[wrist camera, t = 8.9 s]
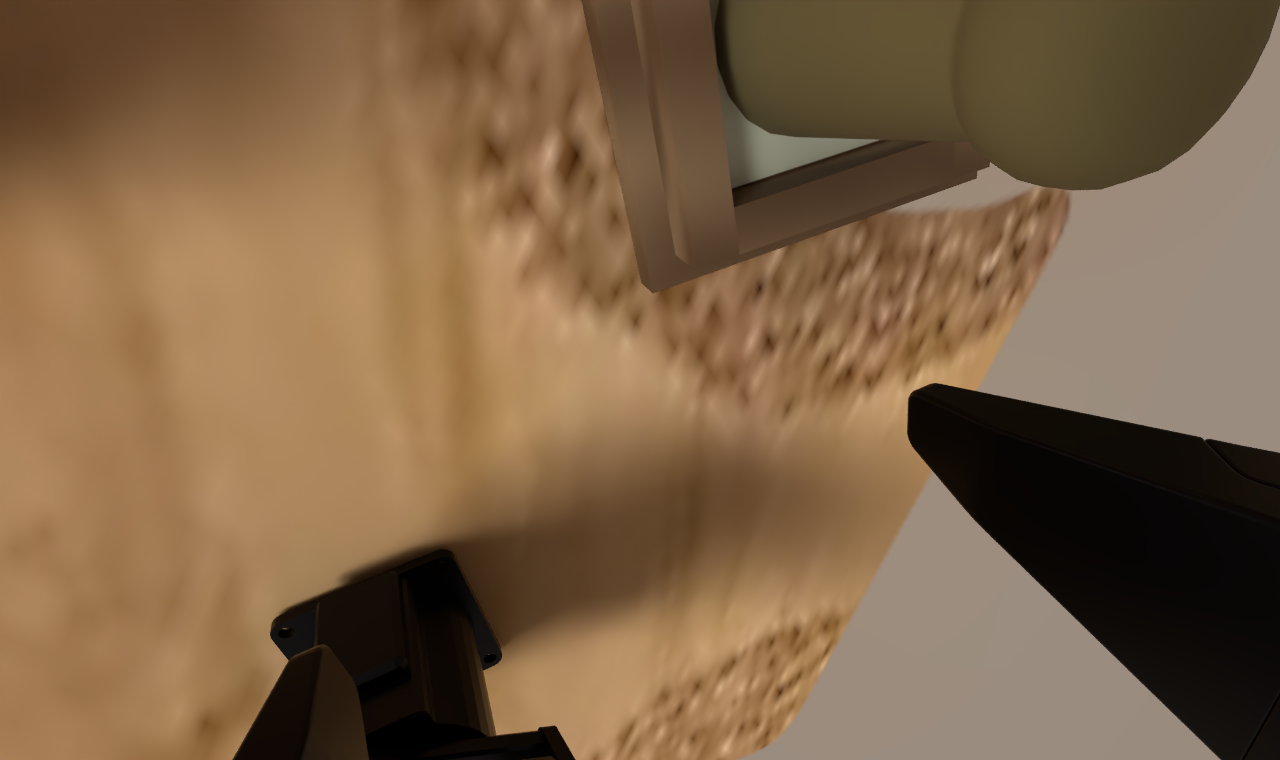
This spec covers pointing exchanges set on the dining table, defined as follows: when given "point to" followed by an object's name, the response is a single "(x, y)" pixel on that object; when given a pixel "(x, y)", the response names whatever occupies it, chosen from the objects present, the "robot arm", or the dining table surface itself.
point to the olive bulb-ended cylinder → (998, 76)
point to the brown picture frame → (731, 151)
